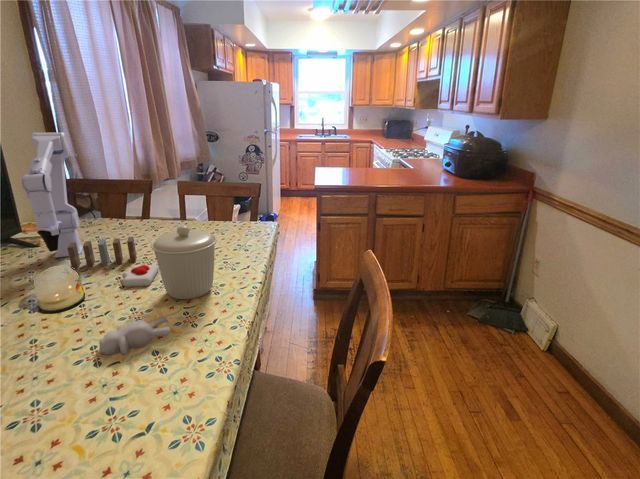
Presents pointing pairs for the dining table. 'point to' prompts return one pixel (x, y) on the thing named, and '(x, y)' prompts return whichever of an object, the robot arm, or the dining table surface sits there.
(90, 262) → the domino
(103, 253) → the loose domino
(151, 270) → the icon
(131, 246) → the domino
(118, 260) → the domino
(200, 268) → the canister
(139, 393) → the dining table surface
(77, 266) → the domino
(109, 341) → the bunny figurine
